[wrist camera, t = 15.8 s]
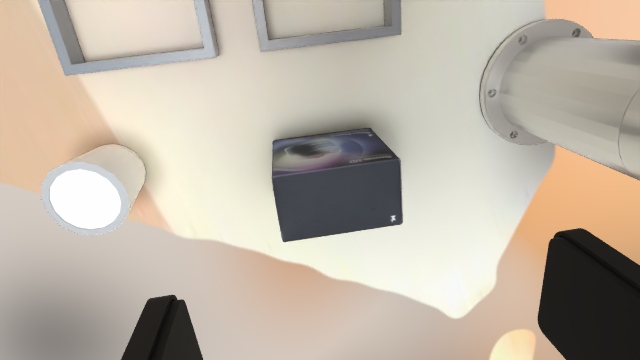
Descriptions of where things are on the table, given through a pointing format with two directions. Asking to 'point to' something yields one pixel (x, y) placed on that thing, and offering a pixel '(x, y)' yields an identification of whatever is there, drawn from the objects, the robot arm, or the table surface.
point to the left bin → (75, 64)
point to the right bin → (390, 21)
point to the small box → (335, 184)
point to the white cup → (94, 189)
